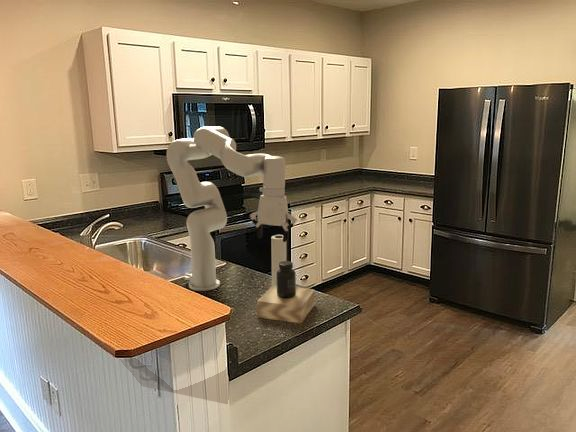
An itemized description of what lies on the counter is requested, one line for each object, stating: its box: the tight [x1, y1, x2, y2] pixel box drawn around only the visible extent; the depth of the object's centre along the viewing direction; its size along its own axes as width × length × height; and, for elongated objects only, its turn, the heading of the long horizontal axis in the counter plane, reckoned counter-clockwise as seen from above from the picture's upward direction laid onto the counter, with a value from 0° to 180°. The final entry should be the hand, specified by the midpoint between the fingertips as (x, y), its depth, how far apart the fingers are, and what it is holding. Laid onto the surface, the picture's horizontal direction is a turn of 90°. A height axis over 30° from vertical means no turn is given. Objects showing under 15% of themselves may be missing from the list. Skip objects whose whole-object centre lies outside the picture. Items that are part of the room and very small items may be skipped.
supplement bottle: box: [276, 260, 297, 298], centre depth 163 cm, size 7×7×12 cm
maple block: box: [256, 285, 315, 324], centre depth 165 cm, size 16×16×6 cm
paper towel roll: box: [270, 233, 287, 287], centre depth 186 cm, size 7×6×21 cm
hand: (272, 239), depth 165 cm, fingers open, 9 cm apart
